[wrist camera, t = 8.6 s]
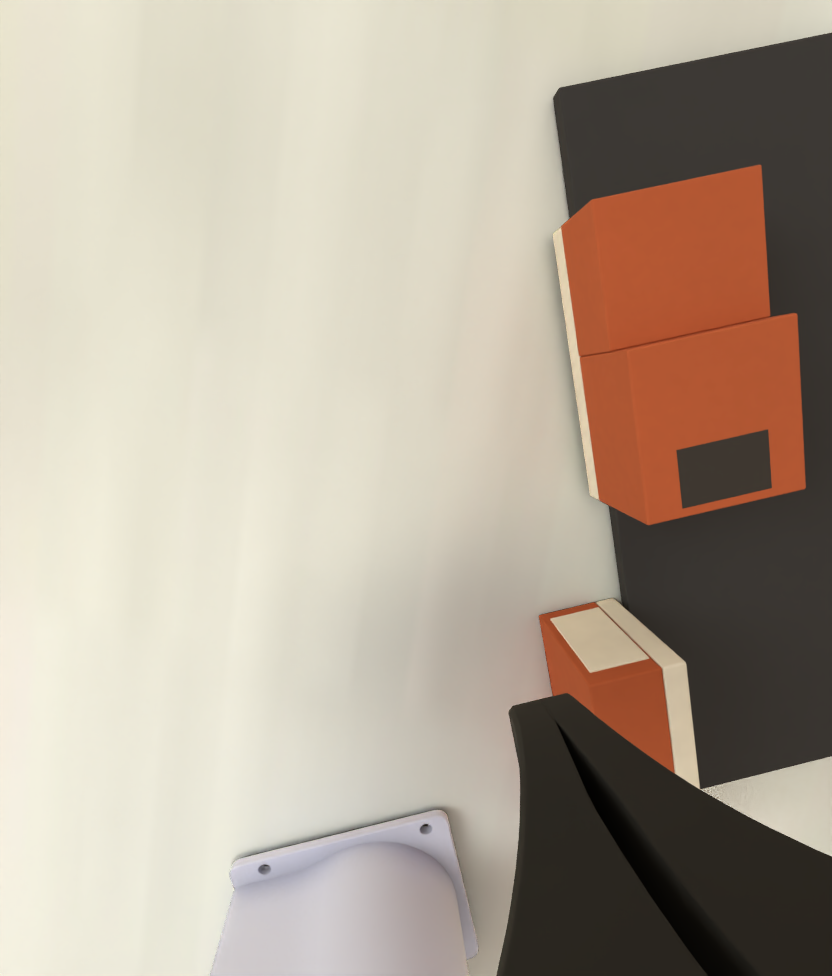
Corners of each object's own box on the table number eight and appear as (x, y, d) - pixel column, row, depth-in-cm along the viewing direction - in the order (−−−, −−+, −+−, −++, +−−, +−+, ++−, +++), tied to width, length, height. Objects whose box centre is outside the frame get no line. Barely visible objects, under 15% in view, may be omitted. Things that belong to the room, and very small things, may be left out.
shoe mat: (647, 790, 23) (655, 802, 22) (552, 97, 17) (559, 85, 16) (877, 733, 23) (892, 742, 22) (863, 34, 17) (881, 20, 17)
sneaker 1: (549, 809, 22) (598, 928, 18) (513, 618, 20) (557, 692, 16) (639, 786, 23) (713, 898, 18) (613, 595, 21) (688, 661, 16)
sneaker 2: (647, 526, 15) (808, 489, 15) (606, 182, 13) (792, 143, 13) (589, 496, 19) (716, 467, 19) (551, 231, 17) (693, 201, 17)
